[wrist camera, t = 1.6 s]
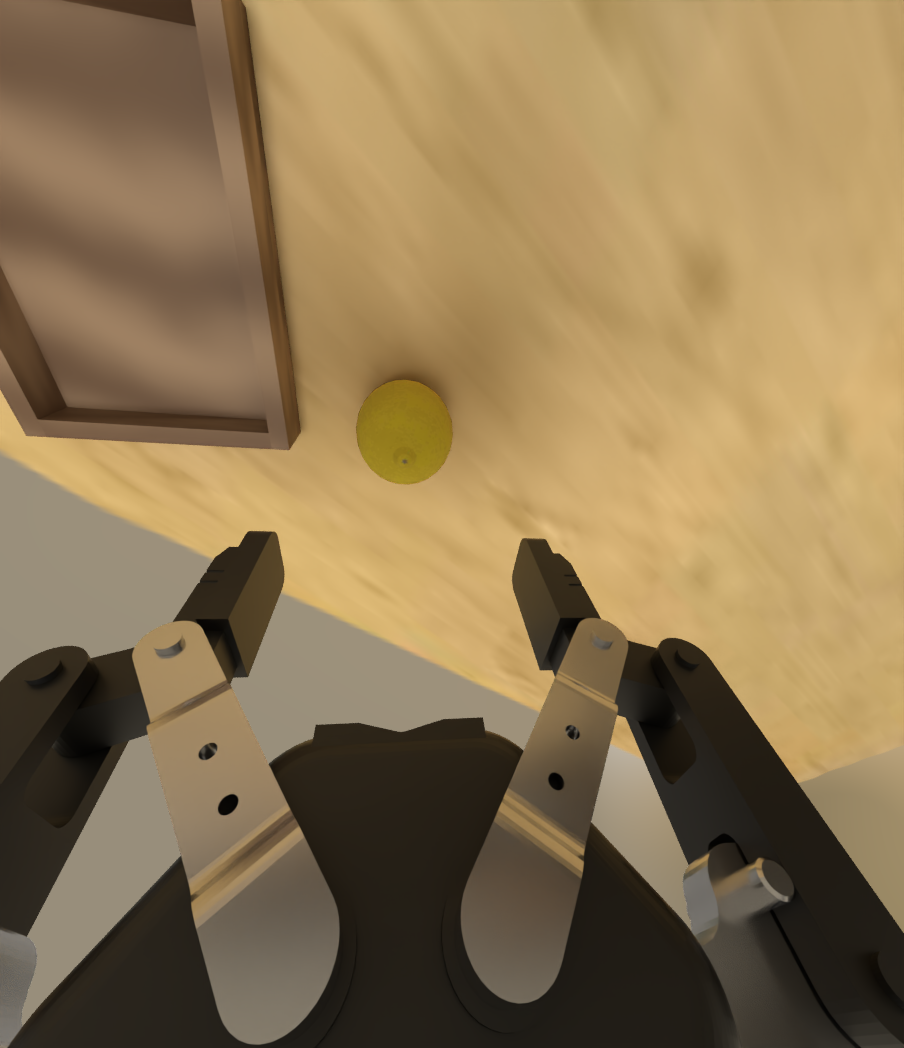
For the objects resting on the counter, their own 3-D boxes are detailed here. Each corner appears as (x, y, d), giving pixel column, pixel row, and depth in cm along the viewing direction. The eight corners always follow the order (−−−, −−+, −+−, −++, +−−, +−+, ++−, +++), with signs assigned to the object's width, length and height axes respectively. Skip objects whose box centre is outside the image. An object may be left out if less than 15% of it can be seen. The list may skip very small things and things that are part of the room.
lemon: (350, 425, 25) (330, 481, 19) (386, 348, 23) (377, 382, 16) (422, 461, 27) (426, 523, 21) (462, 394, 25) (481, 440, 18)
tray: (-174, -79, 13) (-306, -157, 11) (245, 7, 15) (214, -42, 13) (66, 417, 23) (26, 435, 21) (300, 432, 25) (289, 449, 23)
